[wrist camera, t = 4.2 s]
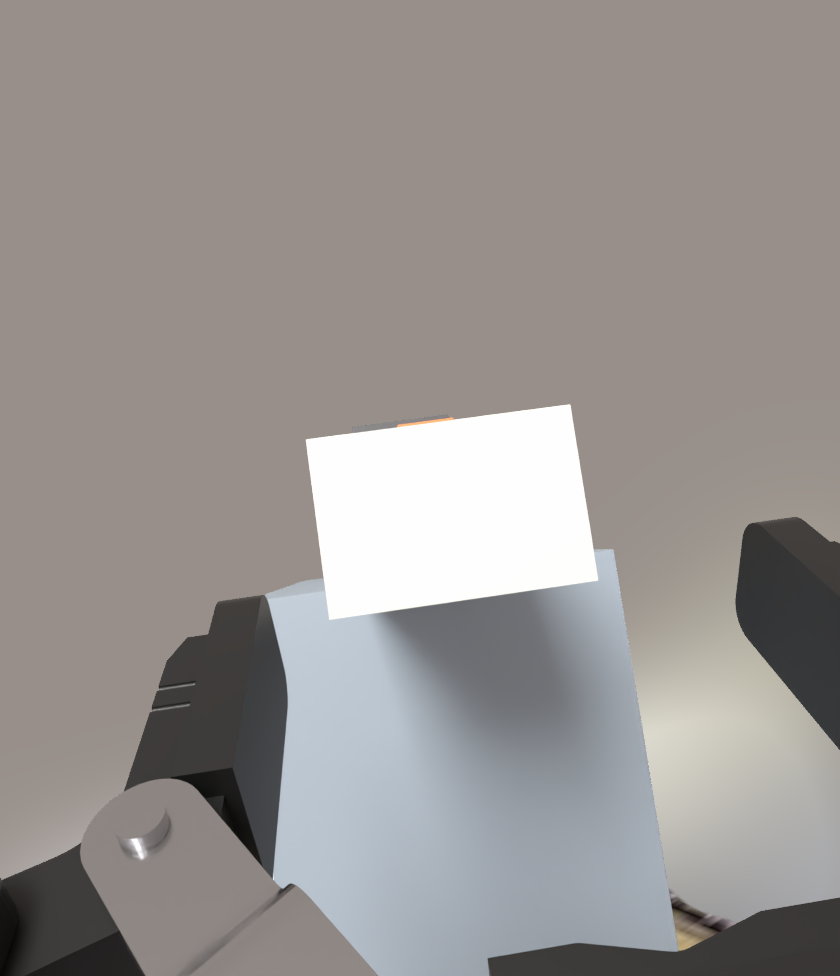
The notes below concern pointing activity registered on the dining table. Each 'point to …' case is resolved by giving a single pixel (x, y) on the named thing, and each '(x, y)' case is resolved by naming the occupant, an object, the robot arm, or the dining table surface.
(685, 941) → the dining table surface
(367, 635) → the post
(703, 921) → the dining table surface
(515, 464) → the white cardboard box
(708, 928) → the dining table surface
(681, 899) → the dining table surface
